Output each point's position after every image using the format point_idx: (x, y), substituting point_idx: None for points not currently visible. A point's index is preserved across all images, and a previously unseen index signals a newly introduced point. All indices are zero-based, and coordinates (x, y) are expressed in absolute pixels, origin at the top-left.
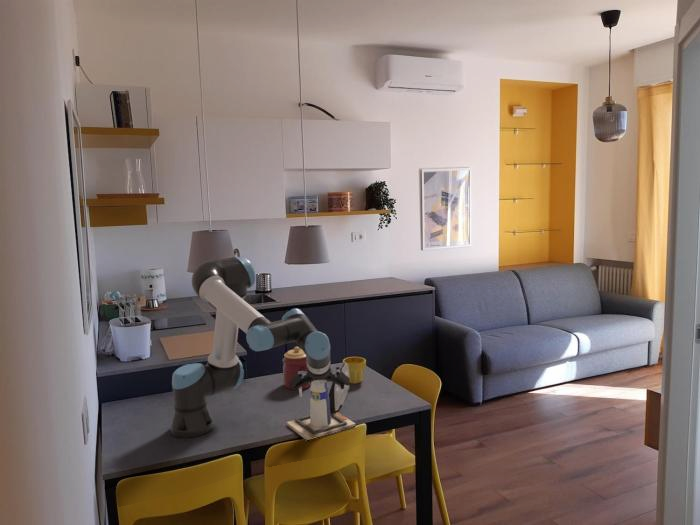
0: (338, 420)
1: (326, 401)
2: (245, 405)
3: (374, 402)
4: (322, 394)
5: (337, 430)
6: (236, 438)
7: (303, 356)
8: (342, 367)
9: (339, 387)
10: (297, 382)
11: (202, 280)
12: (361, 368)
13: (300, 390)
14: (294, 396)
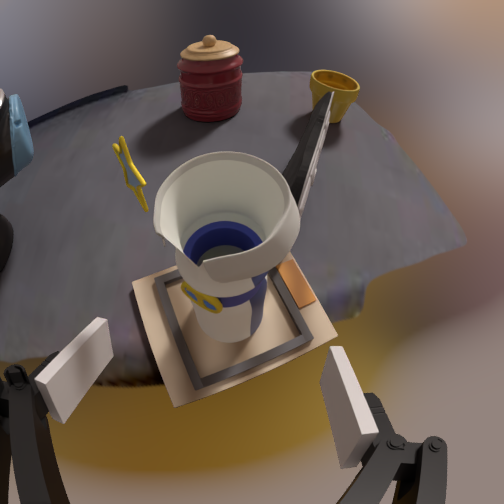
0: (288, 310)
1: (252, 306)
2: (87, 170)
3: (378, 205)
4: (234, 298)
5: (278, 366)
6: (25, 323)
7: (221, 56)
8: (324, 107)
9: (345, 463)
10: (4, 479)
11: None
12: (350, 100)
13: (70, 408)
14: (192, 143)
